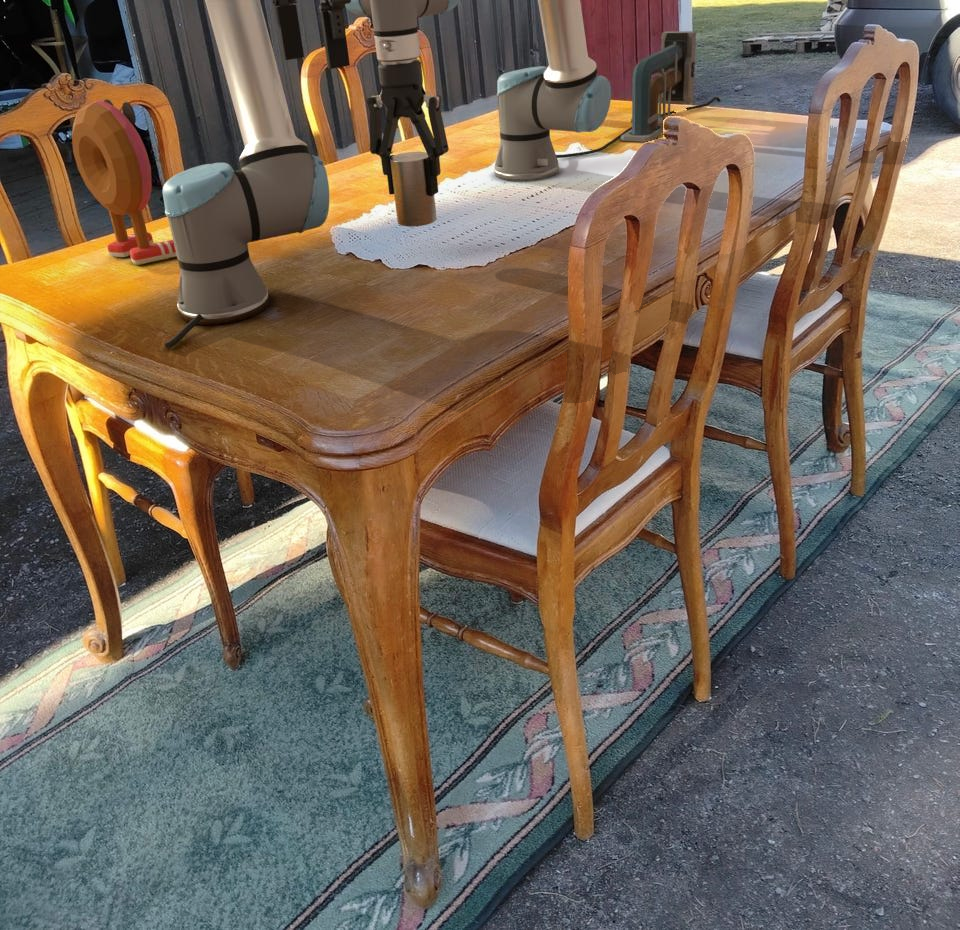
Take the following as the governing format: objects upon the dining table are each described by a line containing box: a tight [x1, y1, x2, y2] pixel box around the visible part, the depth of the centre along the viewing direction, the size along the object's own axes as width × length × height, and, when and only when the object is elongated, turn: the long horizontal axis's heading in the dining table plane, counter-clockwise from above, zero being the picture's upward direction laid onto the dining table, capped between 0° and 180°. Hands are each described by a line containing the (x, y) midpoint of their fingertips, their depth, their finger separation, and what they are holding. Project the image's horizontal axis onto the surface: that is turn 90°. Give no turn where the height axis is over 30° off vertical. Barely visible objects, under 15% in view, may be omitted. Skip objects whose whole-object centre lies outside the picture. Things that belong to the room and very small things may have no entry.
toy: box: [71, 98, 177, 266], centre depth 188 cm, size 21×10×30 cm, turn 47°
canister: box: [390, 151, 438, 228], centre depth 178 cm, size 7×7×12 cm
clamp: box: [619, 30, 697, 143], centre depth 257 cm, size 35×9×21 cm, turn 151°
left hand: (315, 63), depth 126 cm, fingers open, 13 cm apart
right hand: (413, 193), depth 178 cm, fingers closed on canister, 7 cm apart
